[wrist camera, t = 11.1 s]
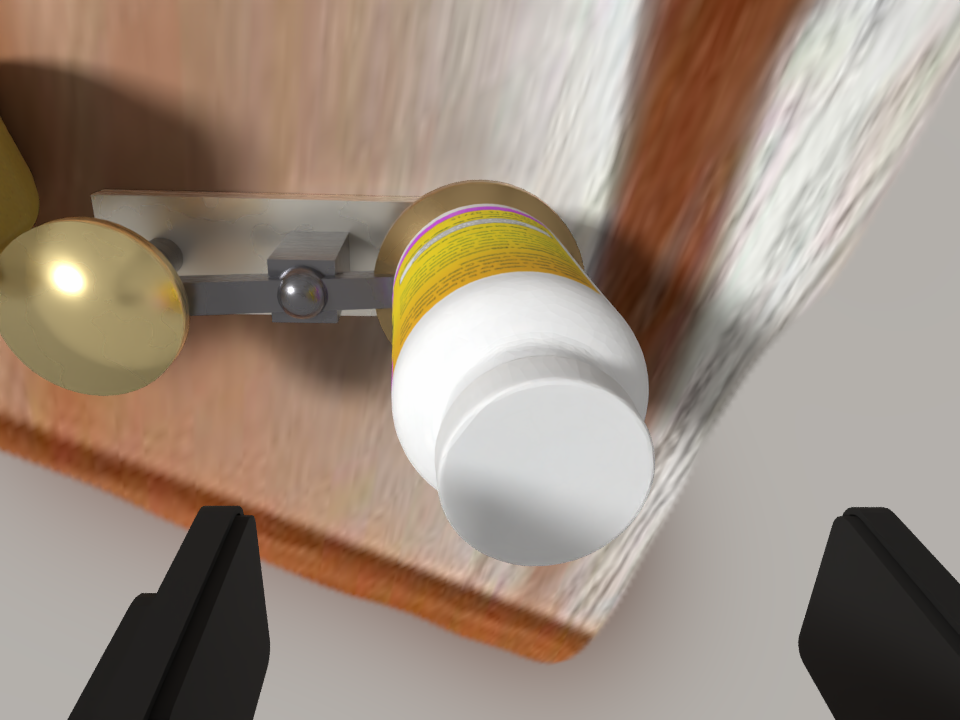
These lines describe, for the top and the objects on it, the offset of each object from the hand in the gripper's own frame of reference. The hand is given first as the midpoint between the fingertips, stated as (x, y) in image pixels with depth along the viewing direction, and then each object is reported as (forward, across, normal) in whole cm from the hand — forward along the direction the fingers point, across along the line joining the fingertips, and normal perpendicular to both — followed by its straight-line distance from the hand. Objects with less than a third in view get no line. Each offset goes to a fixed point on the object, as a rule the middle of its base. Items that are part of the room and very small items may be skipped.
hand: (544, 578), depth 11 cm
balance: (+22, +7, +1) cm, 23 cm away
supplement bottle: (+16, 0, +1) cm, 17 cm away
